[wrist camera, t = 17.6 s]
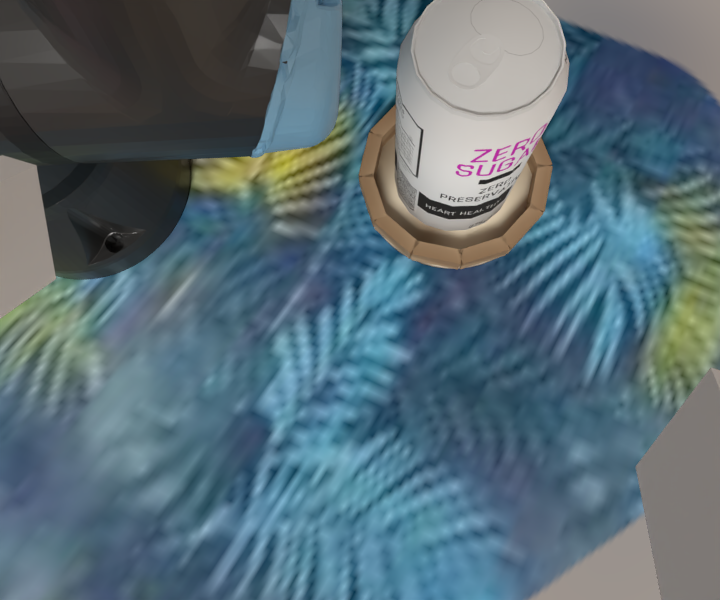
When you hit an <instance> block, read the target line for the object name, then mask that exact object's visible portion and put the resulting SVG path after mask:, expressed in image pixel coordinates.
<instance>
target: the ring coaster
mask: <svg viewBox="0 0 720 600" xmlns="http://www.w3.org/2000/svg"><path fill="white" fill-rule="evenodd" d="M395 127H396V104H395V105H394V106H393V107H392V108H391V110H390V111H389V112H388V113H387V114H386V115H385V116H384V117H383V118H382V119H381V120H380V121H379V122H378V123H377V124H376V125H375V126H374V127H373V128H372V129H371V130H370V132H369V135H368V139H367V143H366V147H365V151H364V155H363V159H362V163H361V168H360V172H359V182H360V187H361V190H362V194H363V197H364V200H365V203H366V207H367V210H368V213H369V215H370V218H371V221H372V224H373V227H375V230H377V231H378V232H379V233H380V234H381V235H382V237H383V238H384V239H385V240H386V241H387V242H388V243H389V244H390V245H391V246H392V247H394V248H395V249H396V250H398V251H399V252H400V253H402V254H403V255H405V256H406V257H408V258H410V259H411V260H414V261H417V262H420V263H422V264H425V265H429V266H433V267H439V268H448V269H459V268H460V269H463V268H468V267H473V266H477V265H481V264H484V263H486V262H489V261H492V260H494V259H496V258H498V257H501V256H505V255H506V254H508V253H509V251H510V250H511V249H512V248H513V247H514V246H515V245H516V244H517V243H518V242H519V241H520V240H521V238H522V237H523V236H524V235H525V234H526V233H527V232H528V231H529V229H530V228H531V227H532V226H533V225H534V224H535V223H536V222H537V221H538V219H539V218H540V217H541V216H542V214H543V212H544V211H545V206H546V200H547V195H548V189H549V184H550V178H551V172H552V167H553V166H551V165H552V162H551V160H550V157H549V155H548V152H547V150H546V147H545V145H544V142H543V140H542V138H540V140H539V141H538V143H537V145H536V147H535V148H534V150H533V152H532V154H531V156H530V157H529V159H528V161H527V163H526V164H525V166H524V168H523V170H522V172H521V173H520V175H519V177H518V179H517V180H516V182H515V184H514V186H513V188H512V189H511V191H510V193H509V195H508V197H507V198H506V200H505V202H504V204H503V205H502V207H501V209H500V210H499V211H498V212H497V213H496V214H495V215H493V216H492V217H491V218H490V219H489V220H488V221H486V222H485V223H483V224H481V225H478V226H475V227H473V228H470V229H468V230H454V231H444V230H441V229H438V228H435V227H431V226H428V225H425V224H424V223H422V222H421V221H420V220H418V219H417V218H416V217H414V216H413V215H412V214H410V213H409V212H408V210H407V208H406V207H405V205H404V204H403V202H402V201H401V199H400V198H399V196H398V192H397V187H396V182H395V178H394V177H395Z"/></svg>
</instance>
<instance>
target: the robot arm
mask: <svg viewBox="0 0 720 600" xmlns="http://www.w3.org/2000/svg"><path fill="white" fill-rule="evenodd" d="M341 47H342V0H0V318H2V317H3V316H5V315H6V314H7V313H9V312H10V311H12V310H13V309H14V308H16V307H17V306H19V305H20V304H21V303H23V302H24V301H26V300H27V299H29V298H30V297H31V296H33V295H34V294H36V293H37V292H38V291H40V290H41V289H43V288H44V287H45V286H47V285H48V284H50V283H51V282H52V281H54V280H55V279H56V276H58V277H62V278H68V279H95V278H101V277H106V276H110V275H113V274H116V273H119V272H121V271H124V270H126V269H128V268H130V267H132V266H134V265H136V264H137V263H139V262H141V261H142V260H144V259H145V258H146V257H148V256H149V255H150V254H151V253H153V252H154V251H155V250H156V249H157V248H158V247H159V246H160V245H161V244H162V243H163V242H164V241H165V239H166V238H167V237H168V236H169V235H170V233H171V232H172V230H173V229H174V227H175V226H176V224H177V222H178V220H179V218H180V216H181V214H182V212H183V209H184V207H185V204H186V200H187V197H188V192H189V185H190V164H189V159H199V158H222V157H244V156H250V157H260V156H262V155H263V154H264V153H269V152H277V151H284V150H292V149H300V148H307V147H312V146H314V145H317V144H318V143H320V142H321V141H323V140H324V139H325V138H327V137H328V135H329V134H330V133H331V131H332V130H333V128H334V126H335V123H336V120H337V116H338V108H339V95H340V76H341ZM636 471H637V476H638V481H639V486H640V491H641V497H642V502H643V507H644V512H645V517H646V522H647V528H648V533H649V538H650V543H651V548H652V554H653V558H654V563H655V569H656V574H657V579H658V585H659V589H660V595H661V600H720V370H717V369H714V368H710V369H709V371H708V372H707V373H706V375H705V376H704V377H703V379H702V380H701V381H700V382H699V384H698V385H697V386H696V388H695V389H694V390H693V392H692V393H691V394H690V396H689V397H688V398H687V400H686V401H685V402H684V404H683V405H682V406H681V408H680V409H679V410H678V411H677V413H676V414H675V415H674V417H673V418H672V419H671V421H670V422H669V423H668V425H667V426H666V427H665V429H664V430H663V431H662V433H661V434H660V435H659V437H658V438H657V439H656V440H655V442H654V443H653V444H652V446H651V447H650V448H649V450H648V451H647V452H646V454H645V455H644V456H643V458H642V459H641V460H640V462H639V463H638V464H637V466H636Z"/></svg>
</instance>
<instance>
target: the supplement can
mask: <svg viewBox="0 0 720 600" xmlns="http://www.w3.org/2000/svg"><path fill="white" fill-rule="evenodd" d="M565 48H566V41H565V38H564V35H563V31H562V28H561V25H560V21H559V19H558V18H557V17H556V15H555V14H554V13H553V12H552V10H551V9H550V8H549V7H548V5H547V4H546V3H545V1H544V0H434V1H433V2H432V3H430V4H429V5H428V6H427V7H426V9H425V10H424V12H423V14H422V15H421V16H420V17H419V18H418V19H417V20H416V21H415V22H414V24H413V25H412V27H411V29H410V30H409V32H408V34H407V35H406V37H405V39H404V40H403V42H402V44H401V47H400V53H399V60H398V66H397V77H396V127H395V177H394V178H395V182H396V187H397V192H398V196H399V198H400V199H401V201H402V202H403V204H404V205H405V207H406V208H407V210H408V212H409V213H410V214H412V215H413V216H414V217H416V218H417V219H418V220H420V221H421V222H422V223H424V224H425V225H428V226H431V227H435V228H438V229H441V230H444V231H454V230H468V229H470V228H473V227H475V226H478V225H481V224H483V223H485V222H486V221H488V220H489V219H490V218H491V217H492V216H493V215H495V214H496V213H497V212H498V211H499V210H500V209H501V207H502V205H503V204H504V202H505V200H506V198H507V197H508V195H509V193H510V191H511V189H512V188H513V186H514V184H515V182H516V180H517V179H518V177H519V175H520V173H521V172H522V170H523V168H524V166H525V164H526V163H527V161H528V159H529V157H530V156H531V154H532V152H533V150H534V148H535V147H536V145H537V143H538V141H539V140H540V138H541V136H542V134H543V132H544V131H545V129H546V127H547V125H548V123H549V122H550V120H551V118H552V116H553V115H554V113H555V111H556V109H557V107H558V105H559V103H560V102H561V100H562V98H563V96H564V94H565V92H566V90H567V81H568V71H569V60H568V57H567V54H566V50H565Z"/></svg>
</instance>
